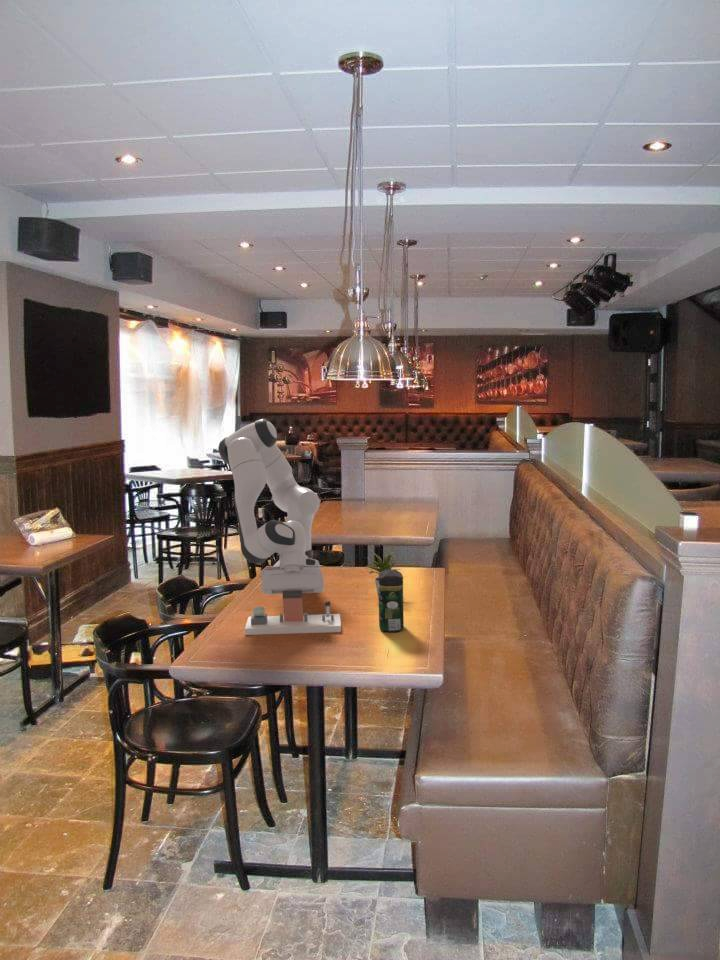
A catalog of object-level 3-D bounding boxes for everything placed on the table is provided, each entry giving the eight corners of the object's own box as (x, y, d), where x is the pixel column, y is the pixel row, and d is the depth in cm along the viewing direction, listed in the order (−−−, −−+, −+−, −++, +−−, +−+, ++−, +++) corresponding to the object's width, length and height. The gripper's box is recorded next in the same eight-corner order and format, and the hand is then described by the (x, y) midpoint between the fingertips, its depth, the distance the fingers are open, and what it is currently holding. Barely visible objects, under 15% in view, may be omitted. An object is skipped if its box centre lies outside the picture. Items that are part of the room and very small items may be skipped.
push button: (253, 612, 235) (253, 606, 234) (265, 612, 235) (264, 606, 235) (252, 616, 231) (252, 610, 231) (264, 615, 231) (264, 609, 231)
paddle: (284, 617, 234) (282, 590, 227) (303, 617, 235) (302, 590, 228) (284, 621, 233) (282, 594, 226) (303, 621, 233) (301, 594, 226)
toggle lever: (325, 616, 235) (324, 601, 237) (330, 616, 236) (330, 601, 237) (325, 616, 234) (324, 600, 235) (330, 616, 234) (330, 600, 235)
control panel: (248, 622, 239) (248, 609, 239) (339, 619, 241) (339, 606, 240) (245, 635, 227) (244, 621, 227) (341, 631, 229) (340, 618, 229)
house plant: (373, 587, 279) (373, 545, 277) (407, 590, 274) (407, 548, 272) (359, 597, 266) (359, 554, 264) (395, 601, 261) (395, 556, 259)
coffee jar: (378, 623, 237) (377, 567, 235) (402, 622, 237) (402, 567, 235) (379, 633, 228) (378, 575, 225) (404, 633, 228) (404, 575, 225)
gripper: (260, 562, 237) (258, 600, 228) (323, 560, 238) (324, 598, 229) (261, 572, 242) (260, 609, 233) (323, 570, 243) (324, 607, 234)
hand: (292, 604), depth 231 cm, fingers closed, pressing on paddle
